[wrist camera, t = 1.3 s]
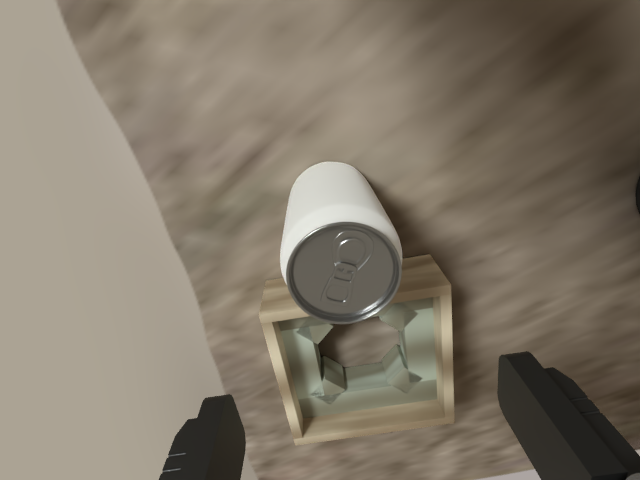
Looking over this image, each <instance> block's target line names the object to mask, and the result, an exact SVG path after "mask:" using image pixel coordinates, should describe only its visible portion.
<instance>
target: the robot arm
mask: <svg viewBox="0 0 640 480" xmlns="http://www.w3.org/2000/svg"><path fill="white" fill-rule="evenodd" d="M498 400H499V404H500V407H501V410H502V412H503V415H504V416H505V418H506V420H507V422H508V423H509V425H510V427H511V429H512V430H513V432H514V434H515V435H516V437H517V439H518V441H519V442H520V444H521V446H522V447H523V449H524V451H525V453H526V454H527V456H528V458H529V459H530V461H531V463H532V465H533V466H534V468H535V470H536V471H537V473H538V475H539V476H540V478H541V480H640V456H639V455H638V454H637V452H636V451H635V450H634V449H633V448H632V447H631V446H630V444H629V443H628V442H627V441H626V440H625V439H624V438H623V437H622V435H621V434H620V433H619V432H618V431H617V430H616V429H615V427H614V426H613V425H612V424H611V423H610V422H609V421H608V419H607V418H606V417H605V416H604V415H603V414H601V413H600V412H599V409H598V408H597V407H596V406H595V405H594V404H593V402H592V401H591V400H588V398H587V396H586V395H585V393H584V392H583V391H582V390H581V389H580V388H579V387H578V385H577V384H576V383H575V382H574V381H573V380H572V379H570V378H569V377H567V376H566V375H564V374H563V373H561V372H559V371H558V370H556V369H555V368H553V367H552V368H545V369H544V368H543V367H542V366H541V365H540V364H539V362H538V361H537V360H536V359H535V357H534V356H533V355H532V354H531V353H530V352H527V351H526V352H520V353H513V354H506V355H501V356H500V357H499V369H498ZM245 445H246V441H245V432H244V428H243V425H242V422H241V419H240V416H239V413H238V411H237V408H236V405H235V402H234V399H233V397H232V395H230V394H229V395H223V396H215V397H208V398H205V399H204V400H203V402H202V405H201V408H200V412H199V414H198V417H197V418H195V419H188V420H187V422H186V423H185V424H184V425H183V427H182V428H181V429H180V431H179V432H178V433H177V435H176V436H175V438H174V441H173V443H172V446H171V449H170V451H169V454H168V455H169V457H168V458H167V459H166V462H165V465H164V467H163V473H162V474H161V475H160V478H159V480H240V478H241V472H242V466H243V461H244V455H245Z"/></svg>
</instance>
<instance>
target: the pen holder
mask: <svg viewBox="0 0 640 480" xmlns="http://www.w3.org/2000/svg"><path fill="white" fill-rule="evenodd" d="M636 202H637V207H638V210H639V212H640V178H639V181H638V184H637V189H636Z"/></svg>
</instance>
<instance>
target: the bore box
mask: <svg viewBox="0 0 640 480" xmlns="http://www.w3.org/2000/svg"><path fill="white" fill-rule="evenodd" d="M376 316H379V318H380V320H382V321H383V322H385V323H387V324H388V325H390V326H392V327H393V328H395V329H397V330H398V331H399V338H400V346H398V345H397V344H396V345H395V346H394V347H393V348H392V349H391V351H390V352H389V353H388V354H387V355H386V356H385V357H384V358H383V359H382V362H381V363H375V364H368V365H361V366H355V367H348V368H342V365H340V364H338V363H337V362H335V361H333V360H331V359H329V358H328V357H326V356H323V357H322V358H320V353H319V348H318V344H319V343H320V341H321V340H322V339H323V338H324V337H325V336H326V335H327V333H328V332H329V331H330V330H331V329H332V328H333V324H332V323H327V322H323V321H320V320H318V319H315V318H313V317H311V316H310V315H308V314H307V313H305V312H304V311H303V310H302V309H301V308H300V307H299V306H298V305H297V304H296V303H295V301H294V300H293V298H292V297H291V295H290V292H289V290H288V287H287V284H286V282H285V280H284V278H278V279H272V280H266V283H265V288H264V293H263V297H262V302H261V307H260V312H259V317H260V321H261V324H262V328H263V331H264V335H265V339H266V342H267V346H268V349H269V353H270V356H271V360H272V364H273V367H274V371H275V374H276V378H277V381H278V385H279V389H280V392H281V396H282V399H283V403H284V406H285V410H286V414H287V417H288V421H289V424H290V428H291V431H292V435H293V439H294V442H295V445H302V444H309V443H316V442H323V441H330V440H337V439H344V438H351V437H358V436H365V435H373V434H380V433H387V432H394V431H401V430H408V429H415V428H422V427H429V426H436V425H443V424H450V423H455V422H454V382H453V341H452V301H451V284H450V282H449V281H448V280H447V278H446V277H445V275H444V274H443V272H442V271H441V270H440V268H439V267H438V265H437V264H436V262H435V261H434V259H433V258H432V257H431V255H430V254H428V255H422V256H416V257H410V258H403V259H402V277H401V282H400V285H399V288H398V291H397V293H396V294H395V296H394V298H393V299H392V300H391V302H390V303H389V304H388V305H387V306H386V307H385V308H384V309H383V310H382V311H380V312H379V313H377V314H376V315H374V316H372V317H376Z"/></svg>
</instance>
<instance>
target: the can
mask: <svg viewBox="0 0 640 480" xmlns="http://www.w3.org/2000/svg"><path fill="white" fill-rule="evenodd" d="M280 265H281V271H282V275H283V278H284V280H285V282H286V284H287V287H288V290H289V292H290V295H291V297H292V298H293V300H294V301H295V303H296V304H297V305H298V306H299V307H300V308H301V309H302V310H303V311H304V312H305V313H307V314H308V315H310V316H311V317H313V318H315V319H318V320H320V321H323V322H327V323H332V324H351V323H356V322H360V321H363V320H366V319H368V318H370V317H372V316H374V315H376V314H377V313H379V312H380V311H382V310H383V309H384V308H385V307H386V306H387V305H388V304H389V303H390V302H391V300H392V299H393V298H394V296H395V294H396V293H397V291H398V288H399V285H400V282H401V277H402V247H401V243H400V240H399V237H398V234H397V232H396V230H395V228H394V226H393V224H392V223H391V221H390V219H389V217H388V215H387V214H386V212H385V210H384V208H383V207H382V205H381V203H380V202H379V200H378V198H377V196H376V195H375V193H374V191H373V190H372V188H371V186H370V185H369V183H368V181H367V180H366V179H365V177H364V176H363V175H362V174H361V173H360V172H359V171H358V170H357V169H355V168H354V167H352V166H350V165H348V164H345V163H340V162H322V163H319V164H316V165H313V166H311V167H310V168H308V169H307V170H305V171H304V172H303V173H302V174H301V175H300V176H299V177H298V178H297V180H296V181H295V183H294V185H293V187H292V189H291V192H290V196H289V202H288V207H287V213H286V219H285V225H284V231H283V237H282V244H281V252H280Z"/></svg>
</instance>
